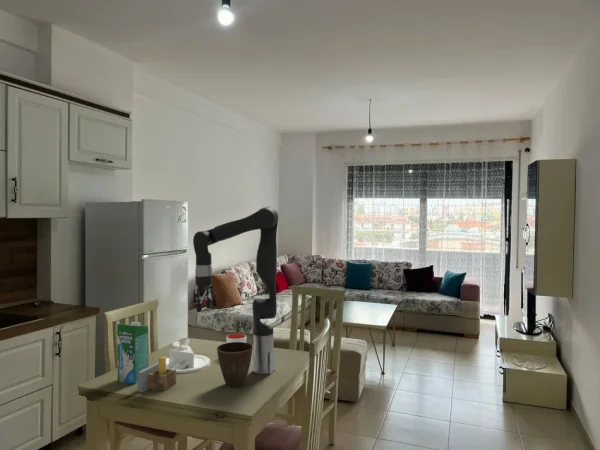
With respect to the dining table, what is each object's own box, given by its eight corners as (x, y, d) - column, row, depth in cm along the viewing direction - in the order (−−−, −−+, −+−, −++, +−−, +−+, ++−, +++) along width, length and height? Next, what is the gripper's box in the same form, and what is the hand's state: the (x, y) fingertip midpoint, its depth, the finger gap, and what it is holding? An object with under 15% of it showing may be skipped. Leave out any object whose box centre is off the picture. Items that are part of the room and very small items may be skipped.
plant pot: (238, 394, 179) (238, 354, 179) (209, 387, 187) (209, 349, 186) (259, 382, 192) (259, 344, 192) (231, 376, 200) (231, 340, 199)
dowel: (167, 385, 189) (167, 357, 189) (163, 387, 186) (163, 359, 186) (161, 384, 190) (161, 356, 190) (157, 387, 187) (157, 358, 187)
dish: (147, 365, 216) (147, 341, 216) (193, 354, 233) (193, 332, 233) (172, 378, 198) (172, 352, 198) (220, 364, 216) (220, 341, 215)
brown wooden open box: (176, 384, 190) (176, 369, 190) (165, 390, 183) (164, 376, 183) (160, 381, 193) (160, 367, 193) (148, 388, 185) (148, 374, 185)
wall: (165, 378, 197) (165, 360, 197) (142, 392, 182) (141, 372, 181) (161, 378, 197) (161, 360, 197) (137, 391, 182) (137, 372, 182)
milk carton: (148, 377, 199) (148, 320, 198) (134, 384, 190) (134, 325, 190) (131, 374, 202) (131, 319, 201) (117, 381, 193) (116, 323, 193)
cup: (244, 358, 224) (244, 338, 224) (224, 358, 224) (224, 338, 224) (247, 352, 234) (247, 333, 234) (228, 352, 234) (228, 333, 234)
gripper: (204, 272, 214) (204, 306, 214) (188, 276, 200) (188, 312, 200) (218, 273, 211) (218, 307, 212) (202, 276, 198) (203, 313, 198)
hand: (204, 309), depth 206 cm, fingers open, 8 cm apart
